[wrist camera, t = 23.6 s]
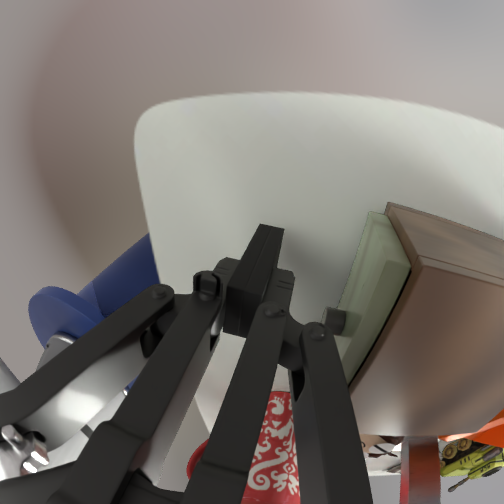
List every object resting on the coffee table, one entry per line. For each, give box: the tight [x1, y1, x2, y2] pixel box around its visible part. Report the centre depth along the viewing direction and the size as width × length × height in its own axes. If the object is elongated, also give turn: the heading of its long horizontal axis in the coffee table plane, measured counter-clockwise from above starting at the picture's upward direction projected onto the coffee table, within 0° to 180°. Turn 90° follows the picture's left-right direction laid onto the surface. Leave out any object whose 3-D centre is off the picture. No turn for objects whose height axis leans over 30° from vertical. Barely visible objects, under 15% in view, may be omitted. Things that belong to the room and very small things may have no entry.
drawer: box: [321, 211, 412, 385], centre depth 15 cm, size 15×12×6 cm
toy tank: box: [439, 437, 504, 492], centre depth 21 cm, size 8×15×10 cm, turn 159°
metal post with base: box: [393, 436, 441, 504], centre depth 20 cm, size 8×7×13 cm
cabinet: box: [348, 202, 504, 436], centre depth 15 cm, size 15×14×8 cm
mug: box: [187, 391, 300, 504], centre depth 23 cm, size 13×9×14 cm
